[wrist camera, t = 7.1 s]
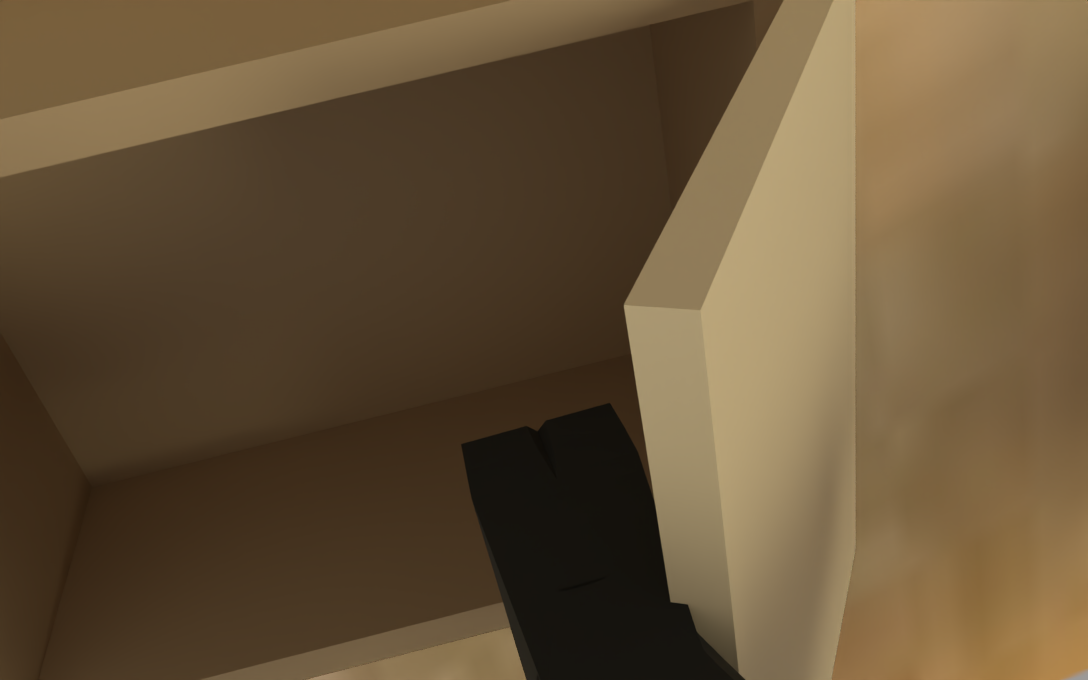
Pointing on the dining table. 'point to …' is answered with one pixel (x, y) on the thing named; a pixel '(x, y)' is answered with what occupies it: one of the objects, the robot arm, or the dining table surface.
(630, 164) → the carton
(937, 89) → the dining table surface
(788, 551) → the flap
